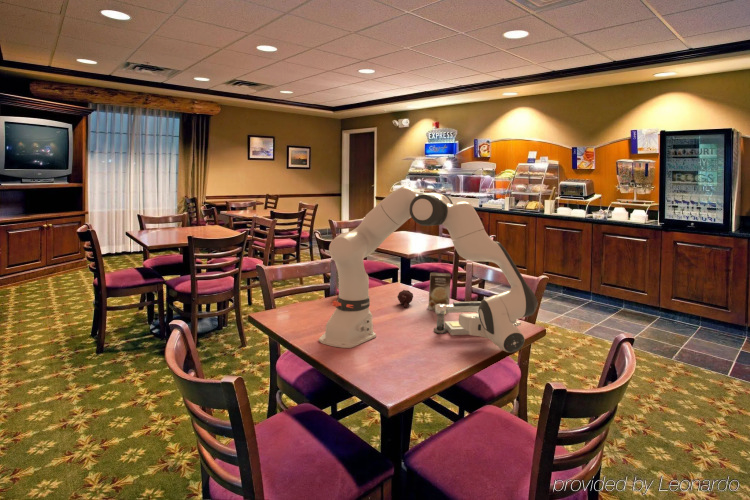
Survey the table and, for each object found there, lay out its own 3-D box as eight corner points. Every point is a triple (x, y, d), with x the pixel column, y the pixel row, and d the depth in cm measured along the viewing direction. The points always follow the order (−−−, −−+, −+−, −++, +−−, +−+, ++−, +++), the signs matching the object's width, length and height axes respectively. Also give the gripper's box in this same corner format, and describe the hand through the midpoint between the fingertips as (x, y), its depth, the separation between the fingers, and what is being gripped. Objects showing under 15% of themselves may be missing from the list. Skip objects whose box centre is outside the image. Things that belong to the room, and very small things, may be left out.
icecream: (397, 286, 214) (394, 297, 200) (412, 283, 213) (410, 294, 198) (400, 299, 216) (398, 311, 201) (415, 296, 214) (414, 308, 200)
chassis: (451, 335, 168) (451, 328, 167) (444, 327, 176) (444, 320, 176) (486, 334, 170) (486, 327, 169) (478, 326, 178) (478, 319, 178)
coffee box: (428, 310, 198) (429, 275, 195) (428, 306, 204) (429, 272, 202) (449, 311, 197) (450, 276, 195) (448, 307, 204) (450, 273, 201)
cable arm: (436, 314, 168) (437, 304, 167) (433, 310, 172) (434, 301, 172) (492, 312, 171) (493, 303, 170) (488, 309, 175) (488, 300, 175)
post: (444, 334, 168) (445, 315, 167) (431, 332, 171) (432, 313, 169) (448, 330, 173) (449, 312, 171) (436, 328, 175) (436, 310, 174)
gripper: (523, 316, 154) (506, 304, 167) (466, 317, 151) (454, 305, 164) (522, 333, 155) (505, 320, 168) (465, 335, 152) (453, 322, 165)
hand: (479, 313), depth 166 cm, fingers closed
